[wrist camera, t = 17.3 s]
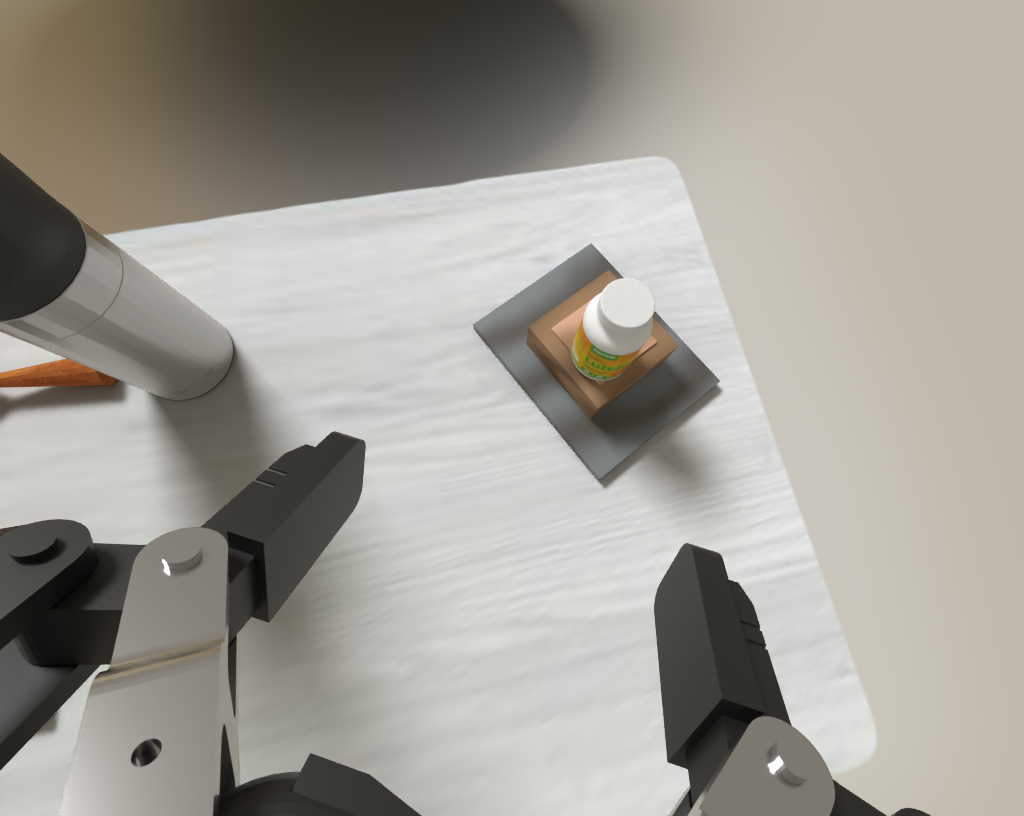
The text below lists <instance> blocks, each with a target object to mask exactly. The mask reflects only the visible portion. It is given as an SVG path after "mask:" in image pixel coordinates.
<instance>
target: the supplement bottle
mask: <svg viewBox="0 0 1024 816" xmlns="http://www.w3.org/2000/svg"><path fill="white" fill-rule="evenodd" d="M654 311H655V300H654V297H653V294H652V293H651V291H650V290H649V288H648V287H647V286H645V285H644V284H643V283H641V282H639V281H637V280H634V279H629V278H623V279H618V280H615V281H613V282H611V283H610V284H608V285H607V286H606V287H605V288H604V290H603V292H602V293H600V294H598V295H597V296H595V297H594V298H593V299H592V300H591V301H590V302H589V304H588V305H587V307H586V309H585V312H584V314H583V317H582V320H581V322H580V325H579V328H578V331H577V333H576V336H575V339H574V341H573V345H572V359H573V362H574V364H575V366H576V367H577V369H578V370H579V371H580V372H581V373H582V374H583V375H585V376H586V377H588V378H590V379H593V380H598V381H607V380H611V379H614V378H616V377H618V376H619V375H621V374H622V373H623V372H624V371H625V370H626V368H627V367H628V366H629V364H630V363H631V362H632V360H633V359H634V358H635V356H636V355H637V354H638V352H639V351H640V350H641V348H642V347H643V346H644V344H645V343H646V342H647V340H648V338H649V337H650V334H651V332H652V327H653V318H652V316H653V314H654Z"/></svg>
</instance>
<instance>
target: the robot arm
mask: <svg viewBox="0 0 1024 816" xmlns="http://www.w3.org/2000/svg"><path fill="white" fill-rule="evenodd" d="M0 332H3V333H5V334H8V335H10V336H13V337H15V338H17V339H21V340H23V341H25V342H28V343H30V344H33V345H35V346H38V347H40V348H42V349H45V350H47V351H50V352H52V353H55V354H57V355H60V356H62V357H64V358H67V359H69V360H72V361H74V362H77V363H79V364H82V365H84V366H86V367H89V368H91V369H94V370H96V371H99V372H101V373H104V374H106V375H108V376H111V377H113V378H116V379H118V380H121V381H123V382H126V383H128V384H130V385H133V386H135V387H138V388H140V389H142V390H145V391H147V392H150V393H152V394H155V395H157V396H160V397H163V398H166V399H169V400H186V399H191V398H195V397H198V396H200V395H202V394H204V393H206V392H208V391H209V390H211V389H212V388H213V387H215V386H216V385H217V384H218V383H219V382H220V381H221V380H222V379H223V378H224V376H225V374H226V373H227V371H228V369H229V367H230V364H231V362H232V357H233V343H232V340H231V337H230V335H229V333H228V332H227V330H226V329H225V328H224V327H223V326H222V325H221V324H220V323H219V322H217V321H216V320H215V319H213V318H212V317H211V316H209V315H208V314H207V313H205V312H204V311H203V310H201V309H200V308H199V307H198V306H196V305H195V304H194V303H192V302H191V301H190V300H188V299H187V298H186V297H184V296H183V295H182V294H180V293H179V292H178V291H176V290H175V289H174V288H172V287H171V286H170V285H168V284H167V283H166V282H164V281H163V280H162V279H160V278H159V277H158V276H156V275H155V274H154V273H152V272H151V271H150V270H148V269H147V268H146V267H144V266H143V265H142V264H140V263H139V262H138V261H136V260H135V259H134V258H132V257H131V256H130V255H128V254H127V253H126V252H124V251H123V250H122V249H120V248H119V247H118V246H116V245H115V244H114V243H112V242H111V241H110V240H108V239H107V238H105V237H104V236H103V235H101V234H100V233H98V232H97V231H96V230H95V229H93V228H92V227H91V226H89V225H88V224H87V223H85V222H84V221H83V220H81V219H80V218H79V217H77V216H76V215H75V214H73V213H72V212H71V211H70V210H68V209H67V208H66V207H64V206H63V205H62V204H60V203H59V202H58V201H56V200H55V199H54V198H53V197H51V196H50V195H49V194H48V193H46V192H45V191H44V190H43V189H42V188H41V187H39V186H38V185H37V184H36V183H35V182H34V181H32V180H31V179H30V178H29V177H28V176H27V175H26V174H25V173H23V172H22V171H21V170H20V169H19V168H17V167H16V166H15V165H14V164H13V163H12V162H10V161H9V160H8V159H7V158H6V157H4V156H3V155H2V154H1V153H0ZM365 448H366V446H365V442H364V440H361V439H358V438H355V437H351V436H348V435H345V434H342V433H339V432H332V433H330V434H329V435H328V436H327V437H326V438H325V439H324V440H323V441H322V442H321V443H320V444H318V445H317V446H316V447H313V446H310V445H307V444H306V445H304V446H301V447H299V448H297V449H294V450H292V451H290V452H287V453H285V454H284V455H283V456H282V457H280V458H279V459H278V460H277V461H276V462H275V463H274V464H272V465H271V466H270V467H269V470H266V471H264V472H263V473H262V474H261V475H260V476H259V477H258V478H256V481H255V482H254V481H253V482H252V483H251V484H250V485H248V486H247V487H246V488H245V489H244V490H243V491H242V492H240V493H239V494H238V495H237V496H236V497H235V498H234V499H232V500H231V501H230V502H229V503H228V504H227V505H226V506H224V507H223V508H222V509H221V510H220V511H219V512H218V513H216V514H215V515H214V516H213V517H212V518H211V519H210V520H208V521H207V522H206V523H205V524H204V525H202V526H201V527H192V528H184V529H178V530H175V531H172V532H169V533H166V534H164V535H162V536H160V537H158V538H156V539H154V540H153V541H151V542H150V543H149V544H147V545H127V544H100V543H93V541H92V538H91V535H90V532H89V530H88V529H87V528H86V526H84V525H83V524H81V523H78V522H76V521H71V520H62V519H57V520H46V521H40V522H35V523H31V524H28V525H24V526H21V527H19V528H16V529H13V530H11V531H9V532H7V533H5V534H3V535H1V536H0V770H1V769H2V768H3V767H4V766H5V765H6V764H7V763H8V762H9V761H10V760H11V759H12V758H13V757H14V756H15V754H16V753H17V752H18V751H19V750H20V749H21V748H22V747H23V746H24V745H25V744H26V743H27V742H28V741H29V740H30V739H31V738H32V737H33V736H34V735H35V733H36V732H37V731H38V730H39V729H40V728H41V727H42V726H43V725H44V724H45V723H46V722H47V721H48V720H49V719H50V718H51V717H52V716H53V715H54V713H55V712H56V711H57V710H58V709H59V708H60V707H61V706H62V705H63V704H64V703H65V702H66V701H67V700H68V699H69V698H70V697H71V696H72V695H73V693H74V692H75V691H76V690H77V689H78V688H79V687H80V686H81V685H82V684H83V683H84V682H85V681H86V680H87V679H88V678H89V677H90V676H91V675H92V673H93V672H94V671H95V670H96V669H97V668H98V667H99V666H100V665H104V664H110V666H109V669H108V670H107V671H103V672H100V673H98V674H97V675H96V677H95V679H94V680H93V683H92V685H91V688H90V691H89V694H88V698H87V702H86V706H85V710H84V714H83V718H82V722H81V726H80V730H79V734H78V738H77V742H76V746H75V750H74V754H73V758H72V762H71V766H70V770H69V774H68V778H67V782H66V786H65V790H64V794H63V798H62V802H61V806H60V810H59V814H58V816H421V815H420V814H418V813H417V812H416V811H415V810H413V809H412V808H411V807H410V806H408V805H407V804H406V803H405V802H403V801H402V800H401V799H400V798H398V797H397V796H396V795H394V794H393V793H392V792H391V791H389V790H388V789H387V788H386V787H384V786H383V785H382V784H381V783H379V782H378V781H377V780H376V779H374V778H373V777H372V776H371V775H369V774H366V773H364V772H361V771H358V770H355V769H353V768H350V767H347V766H344V765H342V764H339V763H336V762H333V761H330V760H328V759H325V758H322V757H319V756H317V755H314V754H311V753H310V755H309V757H308V759H307V761H306V763H305V765H304V767H303V768H302V770H301V772H287V773H280V774H273V775H269V776H265V777H261V778H258V779H255V780H252V781H249V782H247V783H244V784H242V785H240V764H239V743H238V666H239V634H238V633H239V631H240V630H241V629H242V628H243V626H244V625H245V624H246V623H247V621H248V620H249V619H250V618H251V617H254V618H257V619H260V620H263V621H266V622H270V621H271V619H272V618H273V617H274V615H275V614H276V613H277V611H278V610H279V609H280V607H281V606H282V605H283V603H284V602H285V601H286V599H287V598H288V597H289V595H290V594H291V593H292V592H293V590H294V589H295V588H296V586H297V585H298V584H299V582H300V581H301V580H302V578H303V577H304V576H305V574H306V573H307V572H308V570H309V569H310V568H311V566H312V565H313V564H314V562H315V561H316V560H317V558H318V557H319V556H320V554H321V553H322V552H323V550H324V549H325V548H326V547H327V545H328V544H329V543H330V541H331V540H332V539H333V537H334V536H335V535H336V533H337V532H338V531H339V529H340V528H341V527H342V525H343V524H344V523H345V521H346V520H347V519H348V517H349V516H350V515H351V513H352V512H353V511H354V509H355V507H356V505H357V503H358V501H359V498H360V495H361V492H362V485H363V473H364V461H365ZM654 615H655V626H656V637H657V648H658V660H659V671H660V682H661V694H662V705H663V716H664V728H665V739H666V750H667V762H669V763H671V764H674V765H677V766H680V767H683V768H686V769H688V773H689V781H690V786H689V787H688V788H687V789H686V791H685V792H684V793H683V795H682V796H681V798H680V799H679V801H678V802H677V804H676V805H675V807H674V808H673V810H672V811H671V813H670V814H669V816H886V815H885V814H883V813H882V812H880V811H879V810H877V809H876V808H874V807H873V806H871V805H870V804H868V803H867V802H865V801H864V800H862V799H861V798H859V797H858V796H856V795H855V794H853V793H852V792H850V791H849V790H847V789H846V788H844V787H843V786H841V785H839V784H838V783H837V782H836V781H834V780H833V779H832V777H831V774H830V772H829V770H828V767H827V765H826V763H825V762H824V760H823V758H822V757H821V755H820V754H819V752H818V751H817V750H816V748H815V747H814V746H813V745H812V744H811V742H810V741H809V740H808V739H807V738H806V737H805V736H804V735H803V734H801V733H800V732H799V731H798V730H797V729H795V728H794V727H792V725H791V723H790V720H789V717H788V713H787V710H786V707H785V704H784V701H783V698H782V694H781V691H780V688H779V685H778V682H777V678H776V675H775V672H774V669H773V666H772V663H771V659H770V656H769V653H768V650H766V649H765V647H766V644H765V640H764V637H763V634H762V631H760V624H759V621H758V618H757V615H756V612H755V609H754V605H753V604H752V602H751V601H750V599H749V598H748V596H747V595H746V593H745V592H744V590H743V589H742V587H741V586H740V585H739V583H738V582H734V581H731V580H728V576H727V572H726V569H725V565H724V561H723V558H722V556H721V555H720V554H719V553H717V552H714V551H711V550H708V549H704V548H701V547H698V546H695V545H692V544H689V543H686V544H684V545H683V546H682V547H681V549H680V551H679V552H678V554H677V556H676V557H675V559H674V561H673V562H672V564H671V566H670V568H669V569H668V571H667V573H666V574H665V576H664V578H663V579H662V581H661V583H660V585H659V587H658V590H657V593H656V597H655V603H654ZM891 816H930V815H929V814H926V813H924V812H922V811H920V810H916V809H912V808H904V809H901V810H899V811H898V812H896V813H895V814H893V815H891Z"/></svg>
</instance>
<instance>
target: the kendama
mask: <svg viewBox="0 0 1024 816" xmlns="http://www.w3.org/2000/svg"><path fill="white" fill-rule="evenodd" d="M117 381H118V379H116V378H113V377H111V376H108V375H106V374H104V373H101V372H99V371H96V370H94V369H91V368H89V367H86V366H84V365H82V364H79V363H77V362H74V361H72V360H69V359H63V360H59V361H54V362H49V363H45V364H40V365H35V366H31V367H26V368H22V369H17V370H12V371H8V372H3V373H0V387H41V386H85V385H114V384H115V383H116V382H117Z"/></svg>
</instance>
